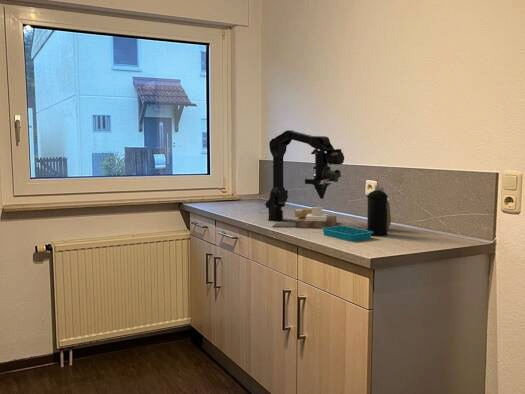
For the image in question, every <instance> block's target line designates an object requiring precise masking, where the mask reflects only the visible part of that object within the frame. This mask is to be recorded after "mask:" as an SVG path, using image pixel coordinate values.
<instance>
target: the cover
mask: <svg viewBox="0 0 525 394" xmlns="http://www.w3.org/2000/svg"><path fill="white" fill-rule="evenodd" d="M311 209H312V214H307V216H306V221H327V219H328V216H329V214H328V213H323V207H322V206H314V207H311Z"/></svg>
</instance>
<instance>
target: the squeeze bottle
mask: <svg viewBox="0 0 525 394" xmlns="http://www.w3.org/2000/svg"><path fill="white" fill-rule="evenodd" d="M380 190H381V191H382V192H385V191H384V190H385V189H384V187H380ZM390 205H391V203H390V201H388V200H387V231H388V230H389V228H390V225H391V224H392V216H391V206H390Z"/></svg>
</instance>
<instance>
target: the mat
mask: <svg viewBox="0 0 525 394" xmlns="http://www.w3.org/2000/svg"><path fill="white" fill-rule="evenodd" d="M272 228H294V229H295V228H296V222H276V223H274V225H272Z"/></svg>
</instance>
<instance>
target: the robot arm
mask: <svg viewBox="0 0 525 394" xmlns="http://www.w3.org/2000/svg"><path fill="white" fill-rule="evenodd" d="M329 138H330V137H328V136H321V135H320V136H319V135H310V134H307V133H303V132H297V131H296V130H295V131H294V130H291V129H290V130H289V129H288V130H287V129H286V130H285V131H283V132H282V133H280V134H278V135H277V136H276V137H274V138H271V140H270V141H269V143H268V144H269V145H268V146H269V151H270V154H271V156H272V172H273V173H272V175H273V176H272V177H273V178H272V188H271V190H270V192H269V198H268V200H267V201H266V202H265V207H266V208H267V209H268V219H267V221H278V222H279V221H283V219H284V210H283V208H284V207H285V206H286V202H287V201H288V199H289V196H288V195H289V194H288V193H289V190H288V189H285V187H284V156H285V155H286V152H287V147H288V146H289V145H290V144H291V142H292V140H293V141H296V142H298V143H299V142H300V143H303V144H307V145H309V147H311V148H313V150H312V151H311V153H310V155H315V156H314V163H315V164H314V165H315V166H313V167H312V168H313V170H315V172H314V175H313V177H312V176H308V177H305V179H304V184H305V185H312V186H313V187H314V189H315V191H316V192H317V194H318V197H319V199H320V200H323V199H324V196H325V194H326V192H327V188H328V187H329V186H330V185H331V184H332V182H334V183H337V182H339V178H341V177H342V174H341V173H342V172H341V170H340V169H335V170H332V169H331V167H330V166H331V165H338V166H339V165H343V163H344V162H345V155H344V153H343V151H342V149H341V148H334V146H333V145H332V143H331V140H330V139H329ZM329 165H330V166H329Z"/></svg>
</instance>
